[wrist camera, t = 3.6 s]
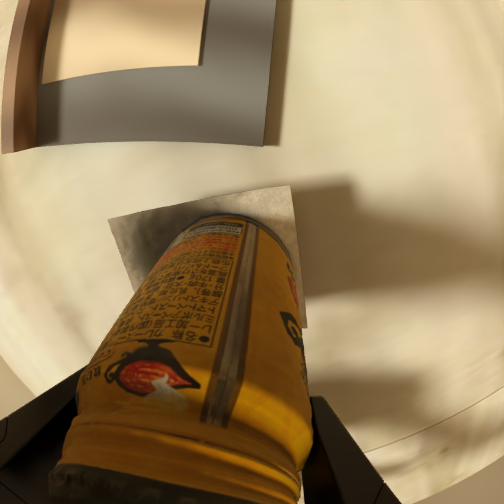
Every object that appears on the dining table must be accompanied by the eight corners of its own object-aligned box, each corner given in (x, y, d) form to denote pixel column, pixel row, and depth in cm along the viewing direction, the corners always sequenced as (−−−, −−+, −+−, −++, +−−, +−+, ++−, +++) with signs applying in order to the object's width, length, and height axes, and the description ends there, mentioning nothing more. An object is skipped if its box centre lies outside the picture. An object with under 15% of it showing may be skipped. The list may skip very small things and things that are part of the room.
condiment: (307, 325, 15) (332, 568, 4) (154, 339, 16) (73, 533, 5) (289, 183, 13) (369, 502, 2) (110, 217, 14) (-85, 393, 3)
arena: (262, 145, 15) (261, 150, 13) (31, 146, 15) (1, 154, 13) (283, -80, 9) (285, -106, 6) (61, -46, 9) (39, -59, 7)
